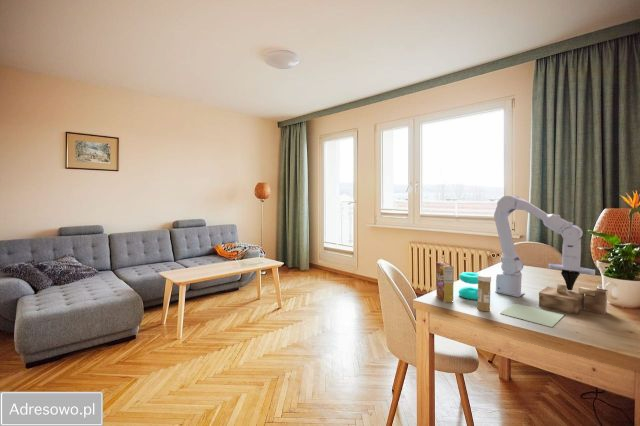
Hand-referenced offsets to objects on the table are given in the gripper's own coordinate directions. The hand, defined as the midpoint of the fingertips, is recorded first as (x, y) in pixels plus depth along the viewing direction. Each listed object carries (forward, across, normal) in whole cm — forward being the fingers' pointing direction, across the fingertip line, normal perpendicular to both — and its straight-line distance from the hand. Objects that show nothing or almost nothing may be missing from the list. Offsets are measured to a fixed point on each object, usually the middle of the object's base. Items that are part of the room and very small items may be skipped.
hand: (569, 289), depth 125 cm
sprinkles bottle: (+7, +21, +30) cm, 37 cm away
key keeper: (+6, -8, 0) cm, 10 cm away
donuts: (+7, +31, +18) cm, 36 cm away
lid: (+2, +2, +5) cm, 5 cm away
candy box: (+7, +37, +30) cm, 48 cm away
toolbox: (+6, +2, +4) cm, 8 cm away
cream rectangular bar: (0, -7, 0) cm, 7 cm away
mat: (+6, +7, +22) cm, 24 cm away
